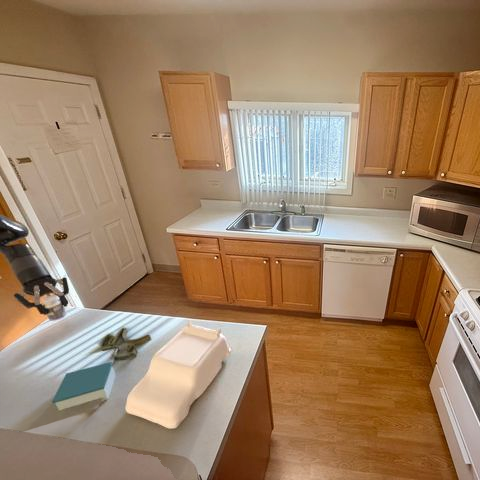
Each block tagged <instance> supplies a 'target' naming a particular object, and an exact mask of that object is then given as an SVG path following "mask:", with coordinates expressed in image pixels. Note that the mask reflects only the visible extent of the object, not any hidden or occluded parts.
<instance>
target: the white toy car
mask: <svg viewBox="0 0 480 480" xmlns="http://www.w3.org/2000/svg"><path fill="white" fill-rule="evenodd" d="M231 353H232V349H231V348H230V345H229V343H228V340H227V338H226V337H225V336H224V335H223V334H222V329H217V330H215V329H212V328H206V327H204V326H199V325H195V324H193V323H192V322H191V321H190V320H189V321H188V322H187V324H186V325H185V327H183V328H182V329H181V330H180V331H179V332H178V333H177V334H175V335H174V336H173V337H172V338H171V339H170V340H169V341H167V343H166V344H165V345H164V346H162V347H161V348H160V349H158V351H156V353H155V354H154V355H153V356H152V358H151V360H150V364H149V367H148V370H147V372H146V374H145V375H144V376H143V377H142V378H141V379H140V381H138V383H137V384H136V385H135V386H134V387H133V389H132V390H131V391H129V394H128V395H127V399H126V404H125V408H124V410H125V412H126V413H127V414H129V415H132V416H136V417H139V418H142V419H144V420H147V421H149V422H152V423H154V424H157V425H159V426H162V427H164V428H166V429H169V430H173V429H176V428H178V427H179V425H180V424H181V423H182V422H183V421H184V420H185V419H186V418H187V416H188V415H189V412H190V408H191V406H192V404H193V403H194V402H195V400H197V399H198V398H199V397H201V396H202V395H203V394H204V392H205V391H206V390H207V389H208V387H209V385H210V384H211V383H212V382H213V380H214V379H215V377H217V375H218V374H219V372H220V371H221V369H222V366H223V365H222V363H223V361H225V360H227V359H228V358H229V357H231V356H230V355H231Z"/></svg>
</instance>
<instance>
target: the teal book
mask: <svg viewBox="0 0 480 480" xmlns="http://www.w3.org/2000/svg"><path fill="white" fill-rule="evenodd" d="M113 364H114V362H113V361H110V362H109V361H108V362H106V363H102V364H98V365H94V366H90V367H86V368H81V369H78V370H75V371H71V372H70V371H69V372H66V373H65V375H64V377H63V379H62V381H61V383H60V385H59V387H58V389H57V390H56V393H55V394H54V396H53V399H52V400H51V403H52V404H55V406H56V407H57V409H58V410H59V411H62V410H65V409H68V408H72V407H75V406H79V405H82V404H85V403H89V402H91V401H95V400H99V403H101V402H104V401H107V400H109V397H110V396H111V391H112V389H113V386H114V383H115V379H116V377H117V374H116V372H115V369H114V367H113Z"/></svg>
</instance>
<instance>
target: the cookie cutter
mask: <svg viewBox="0 0 480 480" xmlns="http://www.w3.org/2000/svg"><path fill="white" fill-rule="evenodd" d="M127 333H128V330H127V328H126V327H122V328H121V329H120V330H119V331H118V332H117V333H116V335H113V334H110V333H109V334H106V335H105V336H104V337H103V338H102V339H101V341H100V342H99V347H100V349H101V351H102V352H106V351H109V350H110V351H111V350H113V352H112V353H111V354H110V355H111V356H112V357H113V358H114V360H116V361H125V360H126V361H127V360H130V359H131V358H137V356H138V355H137V354H138V353H139V350H138V347H140V346H142V345H144V344H146V343H148V342H150V341H151V340H152V337H151V335H150V334H149V333H148V334H145V335H143V336H141V337H137V338H134V339H133V338H132V339H130V338H129V339H128V338H126V335H127ZM121 336H122V339H123V341H124V343H126V344H128V345H126V346H125V350H126V353H127V354H123V355H117V353H119V352H120V351H121V349H120V346H119V345H116V344H117V342H118V340H119V339H120V337H121ZM106 342H107V343H108V346H104V344H105V343H106ZM133 350H134V352H133Z"/></svg>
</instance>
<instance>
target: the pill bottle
mask: <svg viewBox="0 0 480 480" xmlns="http://www.w3.org/2000/svg"><path fill="white" fill-rule="evenodd" d="M41 304H42V305H43V307H44V308H45V310H46V311H47V314H46V317H47V318H48V320H49V321H51V322H55V321H59V320H62V319H64V318H65V317H66V316H67V311H66V309H65V308H66V307H64V306H63V304H62V301H61V300H59V297H58V296H57V295H54V294H52V295H48V296H45V297H43V298H42V299H41Z"/></svg>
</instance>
